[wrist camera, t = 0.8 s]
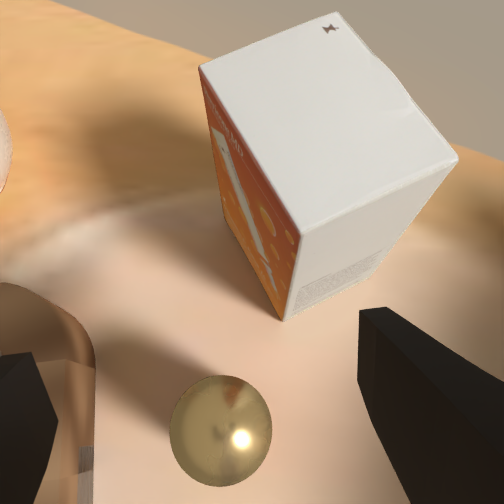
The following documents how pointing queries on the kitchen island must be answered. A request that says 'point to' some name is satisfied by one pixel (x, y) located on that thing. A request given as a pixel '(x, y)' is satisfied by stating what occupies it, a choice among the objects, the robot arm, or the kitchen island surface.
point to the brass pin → (220, 430)
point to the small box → (317, 158)
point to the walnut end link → (54, 380)
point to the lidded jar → (5, 150)
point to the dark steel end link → (85, 476)
